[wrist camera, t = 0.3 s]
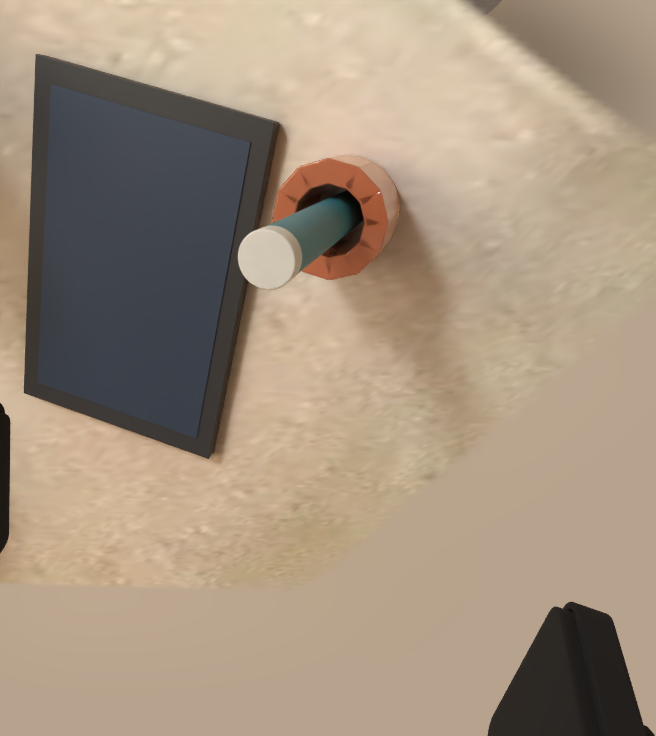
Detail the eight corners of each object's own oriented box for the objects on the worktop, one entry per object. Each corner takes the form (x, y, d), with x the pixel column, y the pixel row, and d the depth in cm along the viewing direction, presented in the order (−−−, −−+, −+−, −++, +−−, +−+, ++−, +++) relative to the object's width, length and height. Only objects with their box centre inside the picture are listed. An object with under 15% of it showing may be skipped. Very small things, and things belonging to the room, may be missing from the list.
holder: (315, 143, 29) (286, 145, 24) (412, 171, 28) (401, 178, 24) (293, 241, 31) (263, 260, 27) (383, 269, 31) (368, 293, 26)
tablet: (45, 55, 30) (34, 53, 30) (280, 122, 29) (274, 122, 28) (31, 388, 39) (22, 393, 38) (213, 452, 37) (208, 459, 36)
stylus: (335, 185, 29) (243, 221, 17) (371, 196, 29) (301, 239, 17) (326, 222, 30) (232, 280, 18) (361, 232, 30) (288, 298, 18)
